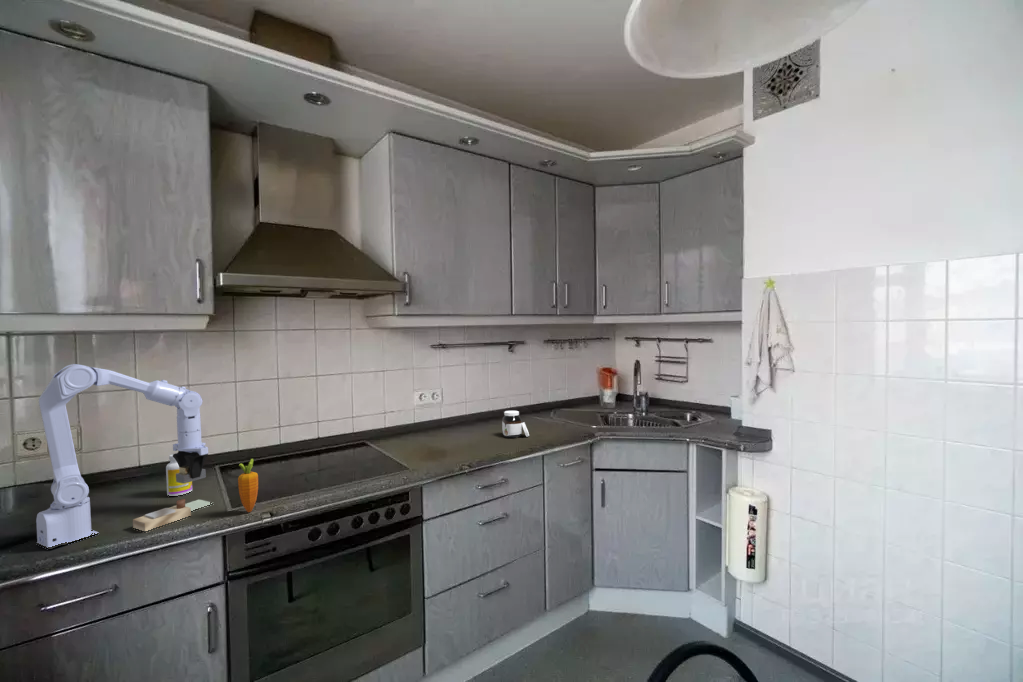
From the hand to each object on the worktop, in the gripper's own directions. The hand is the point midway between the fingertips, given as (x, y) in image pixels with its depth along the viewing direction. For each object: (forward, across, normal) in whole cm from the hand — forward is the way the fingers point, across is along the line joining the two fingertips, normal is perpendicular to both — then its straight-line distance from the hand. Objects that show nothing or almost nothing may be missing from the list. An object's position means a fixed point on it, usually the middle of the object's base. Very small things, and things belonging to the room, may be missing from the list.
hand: (191, 476), depth 135 cm
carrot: (+9, -20, -4) cm, 23 cm away
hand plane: (+9, -4, +10) cm, 14 cm away
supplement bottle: (+9, +16, -5) cm, 20 cm away
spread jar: (+9, -52, -113) cm, 125 cm away
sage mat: (+9, 0, 0) cm, 9 cm away
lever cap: (+1, 0, 0) cm, 1 cm away
